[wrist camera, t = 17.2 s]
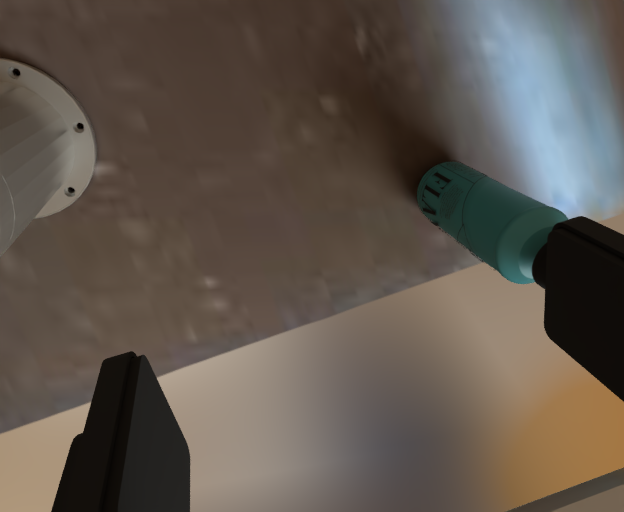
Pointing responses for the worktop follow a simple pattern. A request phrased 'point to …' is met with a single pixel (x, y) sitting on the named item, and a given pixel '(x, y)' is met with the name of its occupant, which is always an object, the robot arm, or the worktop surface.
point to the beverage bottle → (490, 220)
